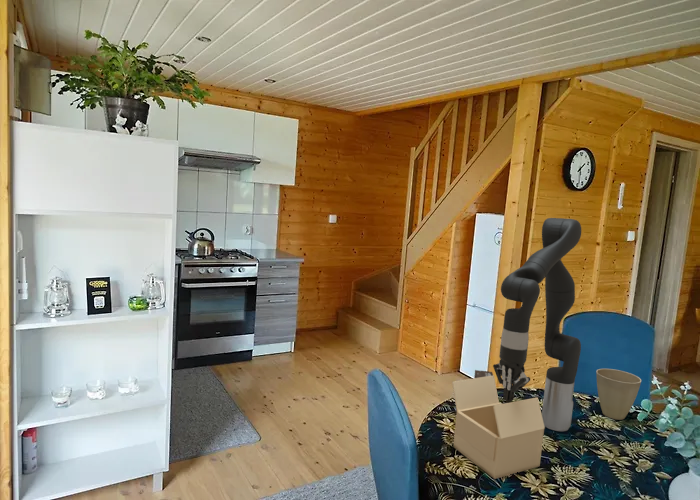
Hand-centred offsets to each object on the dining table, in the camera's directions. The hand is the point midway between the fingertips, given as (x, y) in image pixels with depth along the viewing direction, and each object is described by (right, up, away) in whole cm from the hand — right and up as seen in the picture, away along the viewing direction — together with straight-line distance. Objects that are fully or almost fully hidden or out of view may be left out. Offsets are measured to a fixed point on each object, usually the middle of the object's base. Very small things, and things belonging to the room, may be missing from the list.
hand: (507, 400), depth 139 cm
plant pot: (+54, -19, +40) cm, 69 cm away
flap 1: (-6, -1, +12) cm, 14 cm away
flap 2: (+2, -4, -4) cm, 6 cm away
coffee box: (0, -16, +30) cm, 34 cm away
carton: (-2, -19, +4) cm, 19 cm away
